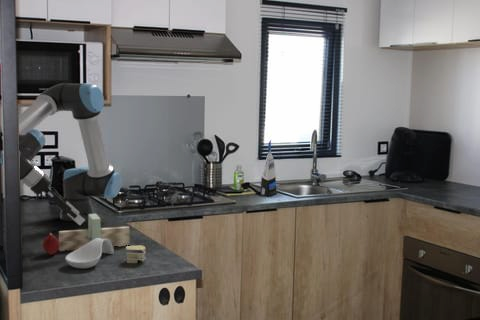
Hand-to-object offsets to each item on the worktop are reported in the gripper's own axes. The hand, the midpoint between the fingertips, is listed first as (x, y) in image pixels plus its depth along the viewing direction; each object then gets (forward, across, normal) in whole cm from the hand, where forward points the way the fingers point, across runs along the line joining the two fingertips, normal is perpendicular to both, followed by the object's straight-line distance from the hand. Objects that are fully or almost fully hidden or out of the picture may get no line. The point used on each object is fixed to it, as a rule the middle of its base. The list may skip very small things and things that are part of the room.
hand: (79, 218), depth 236 cm
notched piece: (+12, 0, -4) cm, 13 cm away
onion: (+1, +5, -16) cm, 17 cm away
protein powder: (+92, -89, +75) cm, 149 cm away
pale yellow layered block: (+20, +23, +3) cm, 31 cm away
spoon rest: (+10, +18, -7) cm, 22 cm away
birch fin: (+12, 0, -4) cm, 13 cm away
